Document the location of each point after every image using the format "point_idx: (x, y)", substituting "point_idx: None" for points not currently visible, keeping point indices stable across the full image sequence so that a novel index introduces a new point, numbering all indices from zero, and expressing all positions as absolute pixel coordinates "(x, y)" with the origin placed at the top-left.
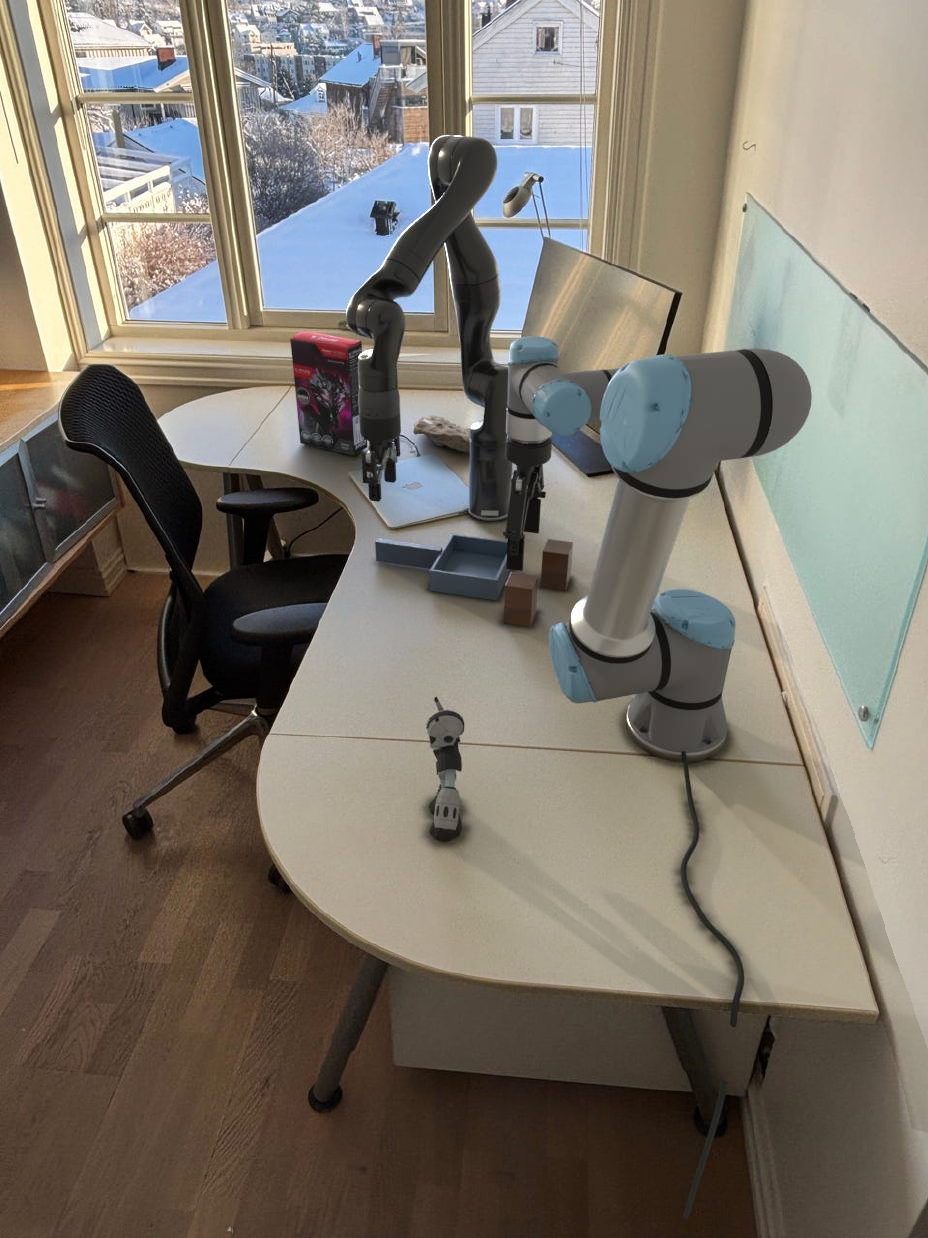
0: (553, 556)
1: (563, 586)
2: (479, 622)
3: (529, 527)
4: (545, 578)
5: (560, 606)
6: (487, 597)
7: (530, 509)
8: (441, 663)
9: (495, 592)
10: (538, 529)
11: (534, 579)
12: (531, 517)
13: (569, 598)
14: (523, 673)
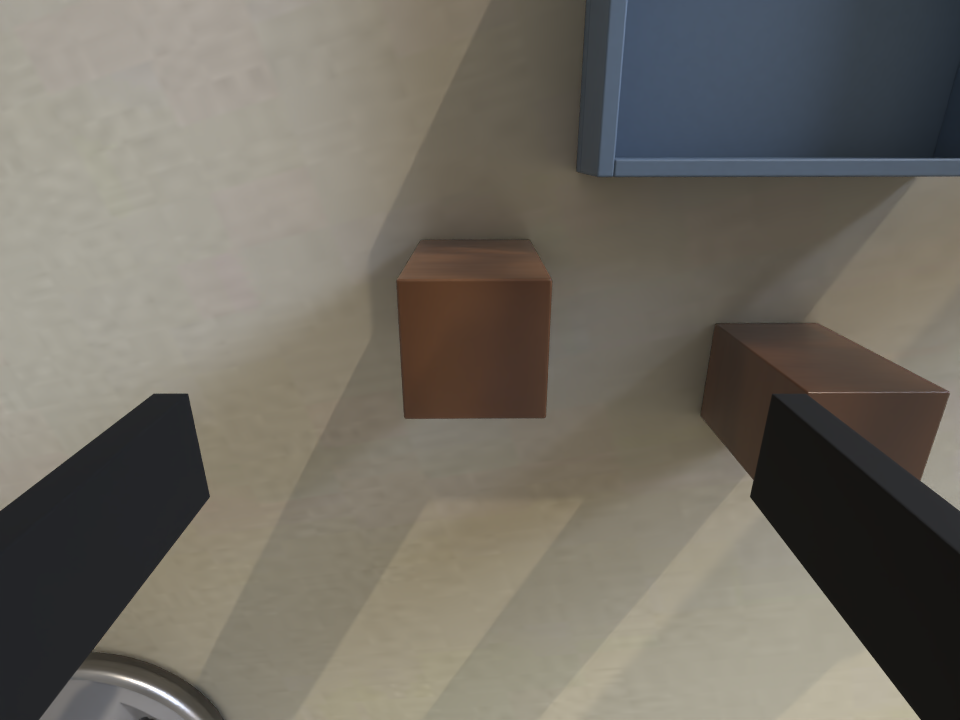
0: None
1: (707, 415)
2: (393, 138)
3: (784, 459)
4: (729, 356)
5: (590, 415)
6: (579, 125)
7: (910, 587)
8: (46, 56)
9: (583, 165)
10: (767, 518)
11: (503, 409)
12: (841, 533)
13: (650, 435)
14: (149, 376)
